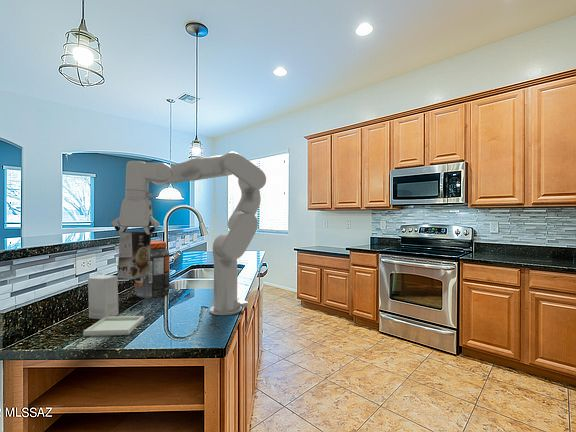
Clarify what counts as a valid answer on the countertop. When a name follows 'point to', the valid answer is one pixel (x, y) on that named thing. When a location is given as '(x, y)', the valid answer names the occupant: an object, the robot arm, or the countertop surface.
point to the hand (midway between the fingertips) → (135, 244)
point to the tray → (114, 326)
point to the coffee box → (133, 255)
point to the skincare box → (103, 296)
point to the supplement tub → (155, 273)
